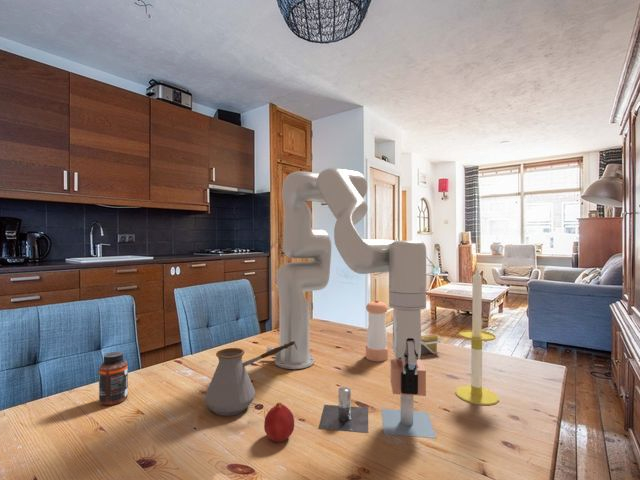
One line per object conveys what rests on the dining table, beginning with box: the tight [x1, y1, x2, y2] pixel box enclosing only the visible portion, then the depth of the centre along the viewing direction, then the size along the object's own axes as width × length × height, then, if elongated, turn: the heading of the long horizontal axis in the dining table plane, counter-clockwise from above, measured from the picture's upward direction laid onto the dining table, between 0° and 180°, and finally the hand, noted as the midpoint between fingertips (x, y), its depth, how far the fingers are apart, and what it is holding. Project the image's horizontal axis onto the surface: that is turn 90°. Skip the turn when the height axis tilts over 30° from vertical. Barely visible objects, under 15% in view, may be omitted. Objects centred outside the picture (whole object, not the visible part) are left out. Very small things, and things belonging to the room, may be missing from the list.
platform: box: [421, 334, 442, 355], centre depth 116 cm, size 12×18×7 cm, turn 108°
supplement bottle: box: [98, 351, 129, 406], centre depth 82 cm, size 6×6×11 cm
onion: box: [263, 401, 295, 443], centre depth 65 cm, size 6×6×8 cm
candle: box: [454, 267, 500, 406], centre depth 85 cm, size 10×10×32 cm
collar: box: [390, 357, 427, 397], centre depth 71 cm, size 6×6×5 cm
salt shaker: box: [365, 299, 389, 362], centre depth 112 cm, size 7×7×19 cm
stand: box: [317, 386, 369, 434], centre depth 73 cm, size 10×10×7 cm
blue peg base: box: [381, 394, 437, 439], centre depth 71 cm, size 10×10×8 cm
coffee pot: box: [204, 341, 297, 417], centre depth 80 cm, size 21×12×15 cm, turn 96°
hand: (407, 384), depth 71 cm, fingers closed on collar, 6 cm apart
